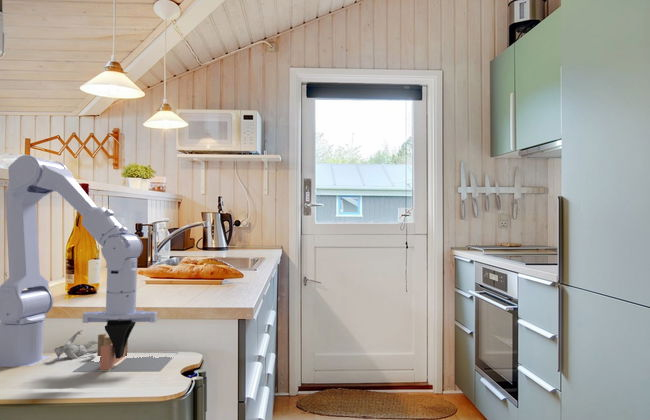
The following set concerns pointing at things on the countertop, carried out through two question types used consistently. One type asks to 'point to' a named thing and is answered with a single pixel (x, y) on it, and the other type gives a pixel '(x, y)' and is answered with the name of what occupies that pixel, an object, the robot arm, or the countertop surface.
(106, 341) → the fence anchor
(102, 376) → the countertop surface
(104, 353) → the fence panel
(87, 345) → the soldier figure
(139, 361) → the board
